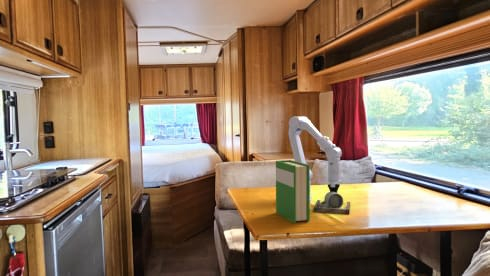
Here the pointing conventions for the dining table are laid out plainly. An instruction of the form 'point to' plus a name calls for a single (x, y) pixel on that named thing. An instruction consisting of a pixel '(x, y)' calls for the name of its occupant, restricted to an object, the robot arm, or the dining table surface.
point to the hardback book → (293, 190)
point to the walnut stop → (331, 209)
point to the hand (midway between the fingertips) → (333, 198)
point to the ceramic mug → (332, 200)
